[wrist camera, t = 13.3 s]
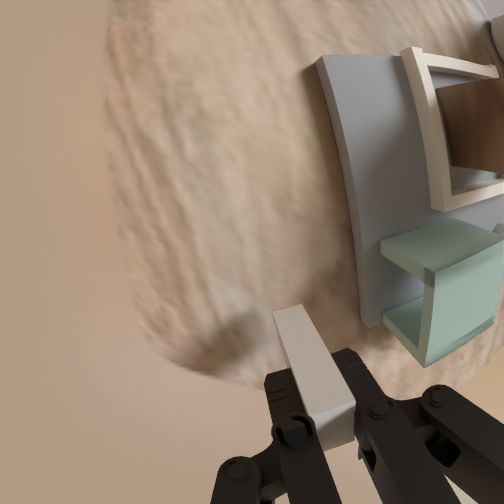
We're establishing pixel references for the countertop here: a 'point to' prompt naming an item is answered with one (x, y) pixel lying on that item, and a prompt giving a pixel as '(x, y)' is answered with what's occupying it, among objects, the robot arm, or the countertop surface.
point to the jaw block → (475, 123)
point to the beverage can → (498, 34)
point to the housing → (446, 286)
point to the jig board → (401, 162)
